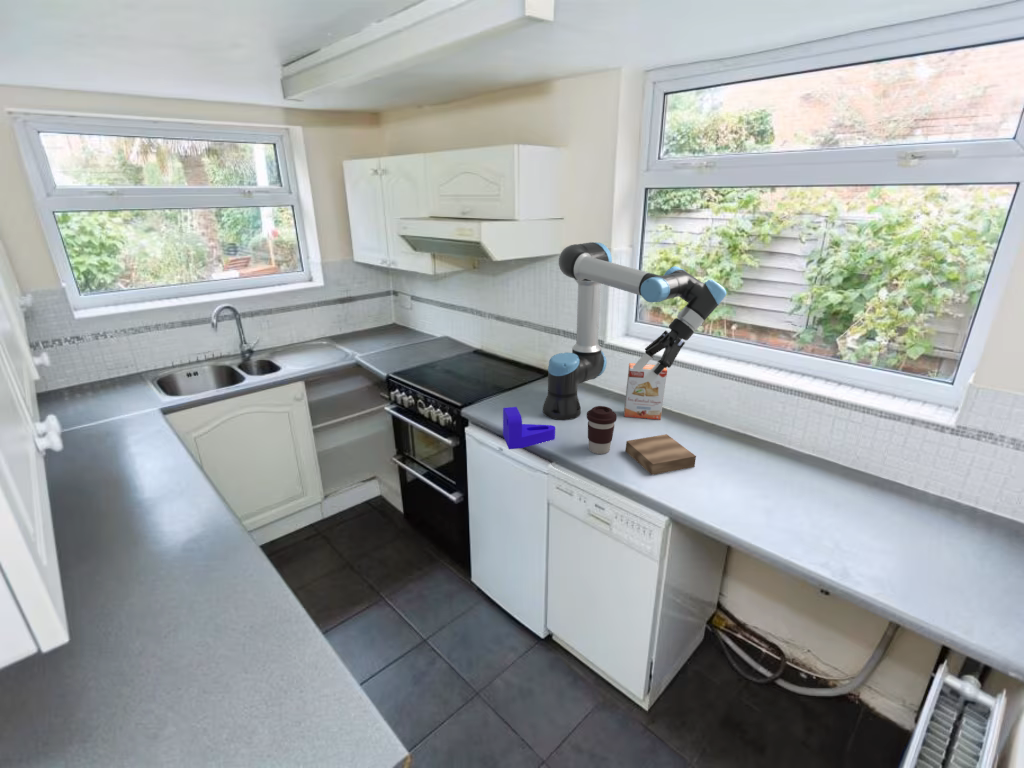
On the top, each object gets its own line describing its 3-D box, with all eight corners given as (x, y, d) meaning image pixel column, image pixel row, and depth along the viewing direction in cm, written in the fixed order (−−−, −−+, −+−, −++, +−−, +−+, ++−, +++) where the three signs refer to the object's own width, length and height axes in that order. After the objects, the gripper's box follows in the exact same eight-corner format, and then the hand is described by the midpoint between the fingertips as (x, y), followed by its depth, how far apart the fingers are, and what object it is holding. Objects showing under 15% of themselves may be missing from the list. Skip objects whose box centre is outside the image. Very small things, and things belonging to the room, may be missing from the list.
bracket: (508, 449, 174) (508, 418, 169) (503, 435, 183) (502, 405, 179) (559, 444, 177) (560, 414, 173) (550, 431, 187) (551, 401, 182)
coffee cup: (583, 455, 170) (586, 414, 164) (585, 441, 179) (587, 402, 174) (613, 457, 168) (617, 417, 163) (613, 443, 177) (617, 405, 172)
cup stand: (625, 451, 173) (626, 440, 171) (665, 444, 177) (666, 434, 176) (651, 475, 158) (653, 464, 157) (694, 466, 163) (696, 456, 162)
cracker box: (624, 417, 197) (629, 367, 190) (623, 411, 203) (628, 362, 195) (661, 420, 195) (667, 369, 187) (659, 414, 201) (666, 364, 193)
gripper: (709, 338, 150) (661, 393, 154) (680, 325, 174) (639, 372, 178) (691, 323, 148) (643, 378, 153) (664, 311, 172) (623, 359, 177)
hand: (641, 375), depth 165 cm, fingers open, 13 cm apart
